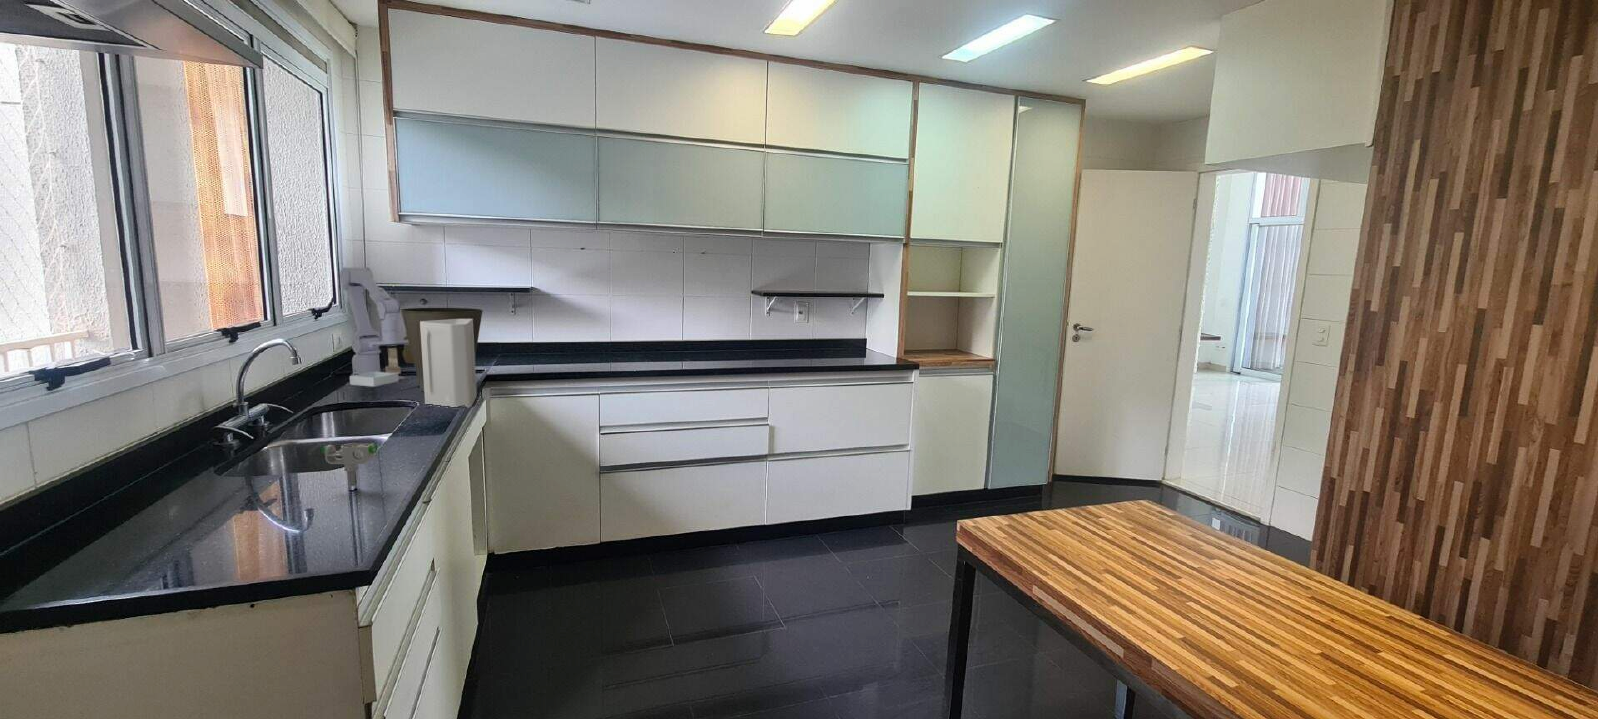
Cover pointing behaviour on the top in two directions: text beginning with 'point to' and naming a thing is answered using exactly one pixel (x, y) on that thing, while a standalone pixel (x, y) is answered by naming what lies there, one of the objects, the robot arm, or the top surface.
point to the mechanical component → (350, 457)
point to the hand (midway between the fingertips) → (392, 364)
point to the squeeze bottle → (407, 352)
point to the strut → (392, 361)
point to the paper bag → (448, 362)
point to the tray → (374, 379)
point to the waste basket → (417, 315)
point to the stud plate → (401, 377)
